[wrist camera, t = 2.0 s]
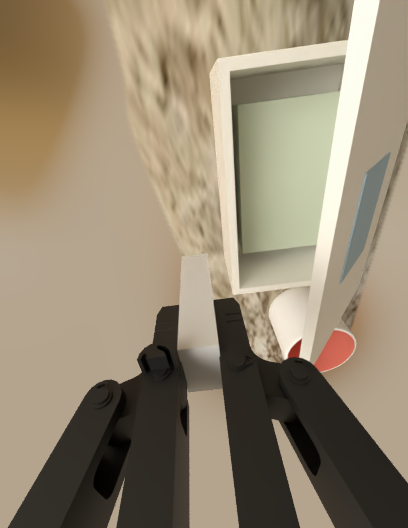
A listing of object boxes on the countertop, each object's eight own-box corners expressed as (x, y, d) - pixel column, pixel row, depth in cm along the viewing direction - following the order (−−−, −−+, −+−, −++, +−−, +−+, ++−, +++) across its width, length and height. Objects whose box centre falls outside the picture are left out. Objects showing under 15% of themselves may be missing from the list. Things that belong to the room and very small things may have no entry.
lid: (296, 372, 20) (307, 378, 20) (357, -22, 8) (389, -33, 8) (351, 284, 29) (360, 287, 28) (422, 22, 17) (439, 18, 16)
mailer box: (224, 256, 37) (233, 294, 29) (209, 73, 25) (217, 58, 17) (317, 244, 36) (350, 280, 29) (347, 53, 25) (417, 29, 17)
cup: (309, 327, 46) (336, 376, 38) (259, 322, 45) (275, 371, 37) (334, 286, 41) (371, 332, 33) (278, 279, 40) (301, 325, 31)
